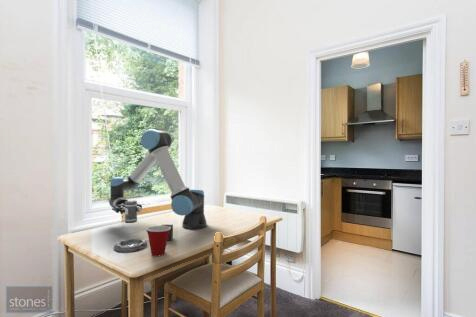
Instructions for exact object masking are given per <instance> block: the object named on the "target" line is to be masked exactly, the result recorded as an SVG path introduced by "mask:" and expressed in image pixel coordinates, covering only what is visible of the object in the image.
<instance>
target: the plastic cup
mask: <svg viewBox="0 0 476 317" xmlns="http://www.w3.org/2000/svg"><path fill="white" fill-rule="evenodd" d="M145 229H146V230H145V231H146V232H147V237H148V241H149V242H148V243H149V248H150V253H151V256H153V257H159V255H160V256H163V255H165V254H164V253H165V252H166V247H167V244H168V241H167V239H168V234H169V231H170V229H171V227H168V226H161V225H152V226H148V227H146V228H145Z"/></svg>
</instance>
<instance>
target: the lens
mask: <svg viewBox="0 0 476 317" xmlns="http://www.w3.org/2000/svg"><path fill="white" fill-rule="evenodd" d="M137 204H138V201H137V200H128V201H125V208H127V209H128V215H126V214H125V213H124V223H125V224H134V223H137V222H138V212H137Z"/></svg>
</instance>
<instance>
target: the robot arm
mask: <svg viewBox="0 0 476 317" xmlns="http://www.w3.org/2000/svg"><path fill="white" fill-rule="evenodd" d="M172 140H173V139H172V137H171V134H170V133H169V132H167V131H166V130H165V131H164V130H158V129H154V128H153V129H151V128H150V129H147V130H145V131H143V133H142V134H141V137H140V143H141V146H142V147H143V148H144V149H146V150H148V152H147V154H146V155H145V156H144V158H143V159H142V160H141V161H140V162H139V164H138V165H137V166H136V167H135V169H133V171H132V172H131V174H130V175H129V176H128V177H127V178H126V179H124V177H123V176H121V177H120V176H116V177H115V176H114V177H111V178H110V183H109V185H110V188H109V189H110V198H109V201H108V204H109V206H110V207H111V208H112V209H111V210H112V211H114V212H115V213H117V214H118V213H119V214H120V215H123V214H124V215H125V214H126V215H128V209H127V208H125V201H129V200H128V199H126V198H124V196H125V192H128V191H133V190H136V189H138V188H139V187H140V182H141V181H142V180H143V179H144V177H145V176H147V174H148V172H149V171H150V170H151V169H152V168H153V167H154V165H155V164H156V163H157V165H158V167H159V170H160V171H161V174H162V175H163V178H164V180H165V182H166V184H167V186H168V189H169V191H170V192H171V193H170V199H171V203H170V206H171V209H172V212H174V214H176V215H177V216H184V217H183V220H182V224H181V225H182V226H181V227H182V228H184V229H187V230H188V229H189V230H199V229H204V228H206V227H207V219H206V216H205V191H204V190H203V189H190V188H189V187H187V186H185V183H184V181H183V178H182V177H181V175H180V172H179V171H178V170H179V169H178V168H177V166H176V164H175V162H174V160H173V158H172V156H171V154H170V152H169V149H170V148H171V146H172V142H173V141H172ZM142 208H143V207H142V204H139V203H137V213H139V214H141V213H142Z"/></svg>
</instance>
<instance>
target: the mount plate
mask: <svg viewBox="0 0 476 317" xmlns="http://www.w3.org/2000/svg"><path fill="white" fill-rule="evenodd" d="M147 247H148V241H147V240H144V239H142V238H128V239H123V240H120V241H119V242H117V243H115V244H114V245H113V250H114V251H115V252H117V253H134V252H139V251H142V250H144V249H146V248H147Z"/></svg>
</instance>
